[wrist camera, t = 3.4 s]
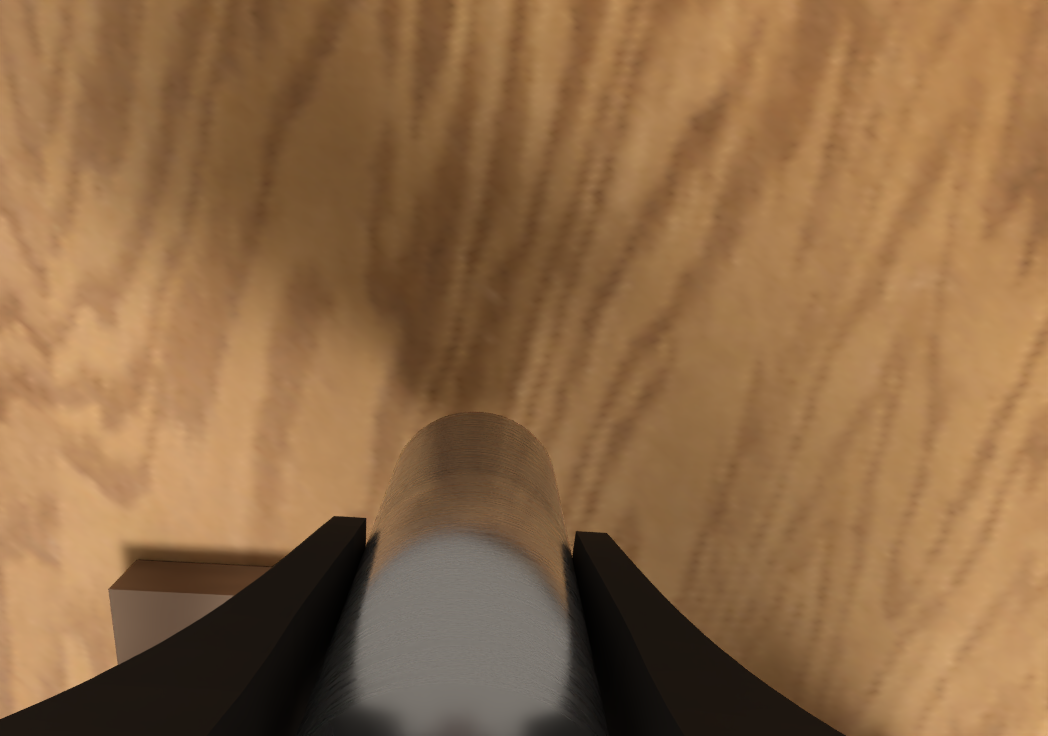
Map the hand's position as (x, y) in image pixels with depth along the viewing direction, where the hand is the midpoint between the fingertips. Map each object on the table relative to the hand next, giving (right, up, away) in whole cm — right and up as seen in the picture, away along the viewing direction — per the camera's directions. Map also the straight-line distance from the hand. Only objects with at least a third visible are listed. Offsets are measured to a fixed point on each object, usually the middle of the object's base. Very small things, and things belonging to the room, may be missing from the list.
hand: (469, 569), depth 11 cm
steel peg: (0, +1, +3) cm, 3 cm away
